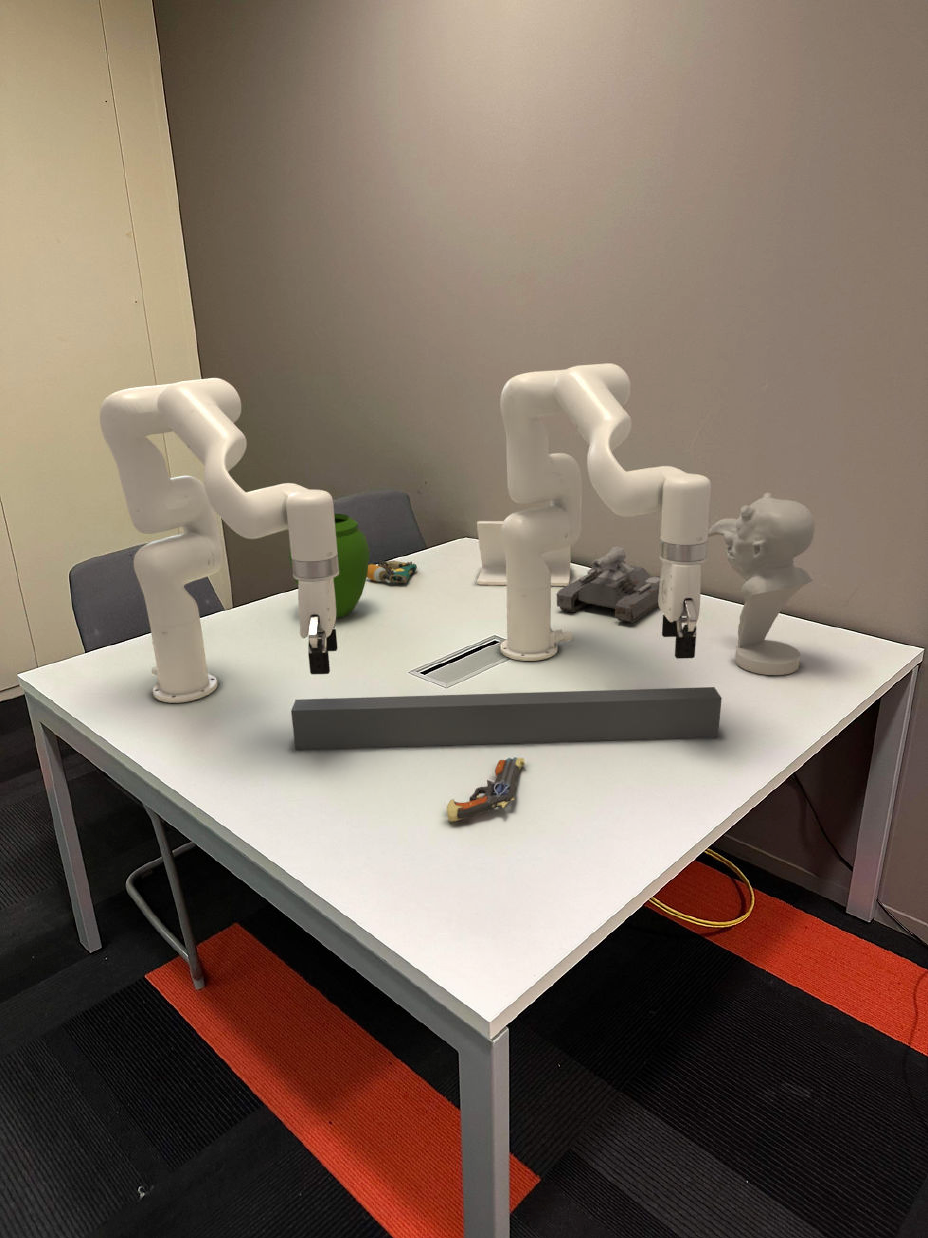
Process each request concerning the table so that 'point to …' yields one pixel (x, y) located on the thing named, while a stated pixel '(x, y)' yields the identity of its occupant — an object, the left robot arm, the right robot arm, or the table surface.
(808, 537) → the bust sculpture
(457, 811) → the toy gun
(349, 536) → the vase
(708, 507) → the right robot arm
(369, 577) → the spray gun
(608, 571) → the toy
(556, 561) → the tablet stand
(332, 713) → the post
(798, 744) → the table surface
